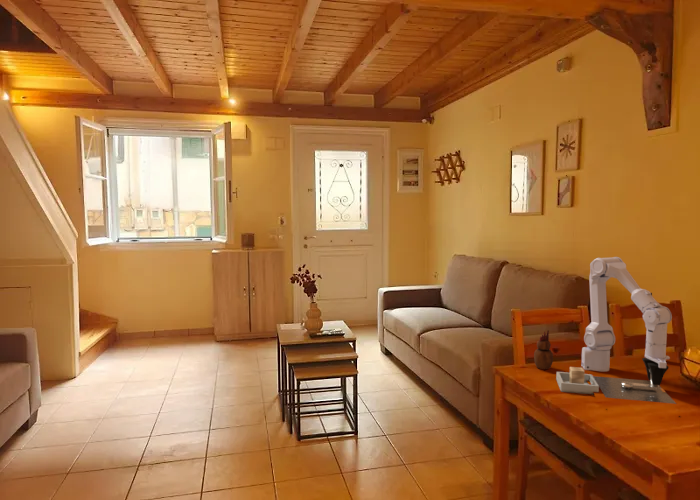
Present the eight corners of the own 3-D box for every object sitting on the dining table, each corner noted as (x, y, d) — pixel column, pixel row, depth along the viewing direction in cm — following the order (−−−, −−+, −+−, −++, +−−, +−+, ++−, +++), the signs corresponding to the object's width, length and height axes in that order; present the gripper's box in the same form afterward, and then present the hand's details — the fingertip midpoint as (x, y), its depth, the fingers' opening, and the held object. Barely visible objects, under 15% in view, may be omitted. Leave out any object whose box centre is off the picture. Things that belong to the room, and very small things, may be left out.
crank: (622, 387, 160) (623, 368, 159) (620, 383, 163) (620, 364, 163) (663, 391, 156) (664, 371, 156) (660, 387, 160) (661, 368, 159)
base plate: (605, 400, 153) (605, 396, 153) (592, 378, 172) (592, 375, 172) (676, 406, 148) (676, 403, 148) (654, 383, 167) (654, 380, 167)
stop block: (571, 387, 163) (571, 370, 163) (569, 383, 167) (569, 366, 166) (584, 388, 162) (584, 371, 162) (581, 384, 166) (582, 367, 165)
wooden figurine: (549, 365, 187) (550, 328, 186) (554, 370, 181) (555, 332, 180) (532, 365, 188) (532, 328, 186) (536, 370, 182) (537, 332, 181)
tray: (561, 391, 161) (561, 383, 161) (556, 379, 172) (556, 371, 172) (598, 394, 158) (598, 386, 157) (591, 382, 169) (591, 374, 168)
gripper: (678, 349, 149) (676, 391, 151) (662, 337, 163) (660, 375, 165) (652, 348, 151) (651, 389, 153) (639, 336, 165) (637, 374, 167)
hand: (654, 382), depth 159 cm, fingers open, 4 cm apart
